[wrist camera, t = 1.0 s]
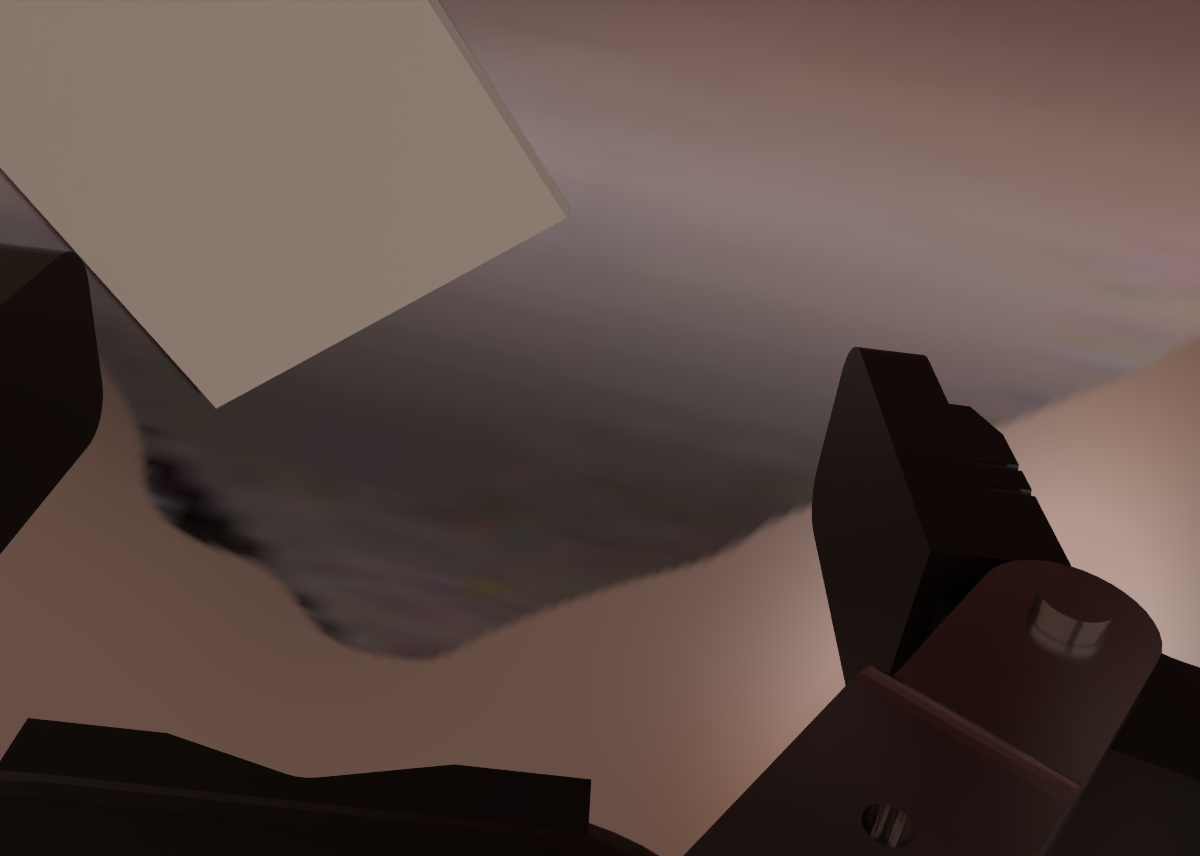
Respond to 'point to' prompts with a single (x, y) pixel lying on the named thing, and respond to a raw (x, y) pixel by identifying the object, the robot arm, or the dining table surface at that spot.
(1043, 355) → the dining table surface
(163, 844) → the robot arm
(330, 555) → the dining table surface
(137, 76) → the mat
